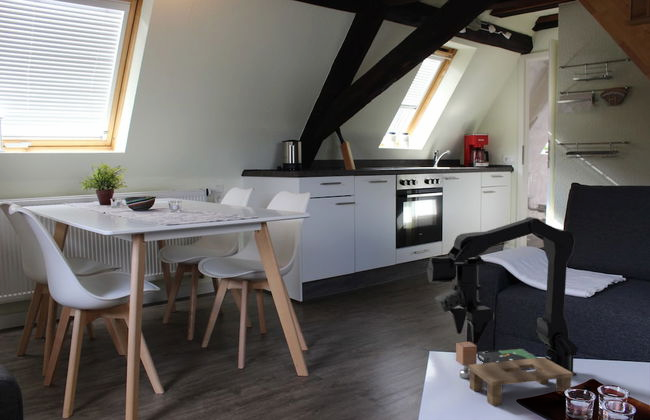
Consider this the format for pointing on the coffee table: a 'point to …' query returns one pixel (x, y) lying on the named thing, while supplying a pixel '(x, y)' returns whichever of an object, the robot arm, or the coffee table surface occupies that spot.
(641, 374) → the coffee table surface
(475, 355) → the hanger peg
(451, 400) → the coffee table surface
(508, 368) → the wooden slotted stool
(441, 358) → the coffee table surface
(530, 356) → the disk drive
